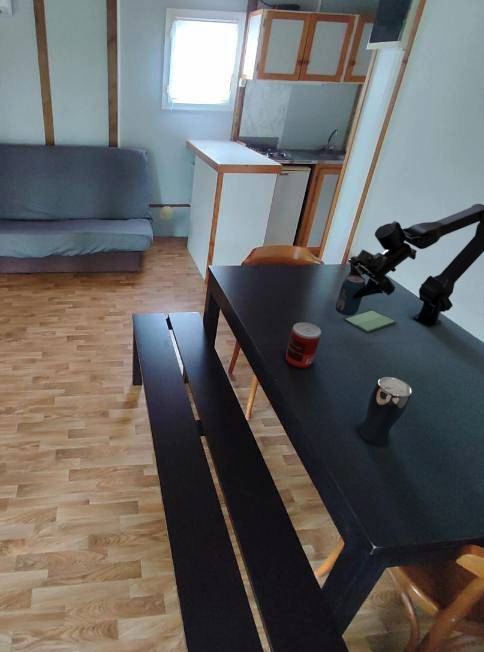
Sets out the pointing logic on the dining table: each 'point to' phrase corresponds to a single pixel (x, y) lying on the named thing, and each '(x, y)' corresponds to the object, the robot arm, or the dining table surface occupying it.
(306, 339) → the canned food
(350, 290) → the soda can
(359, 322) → the cloth
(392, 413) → the beer glass
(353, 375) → the dining table surface
